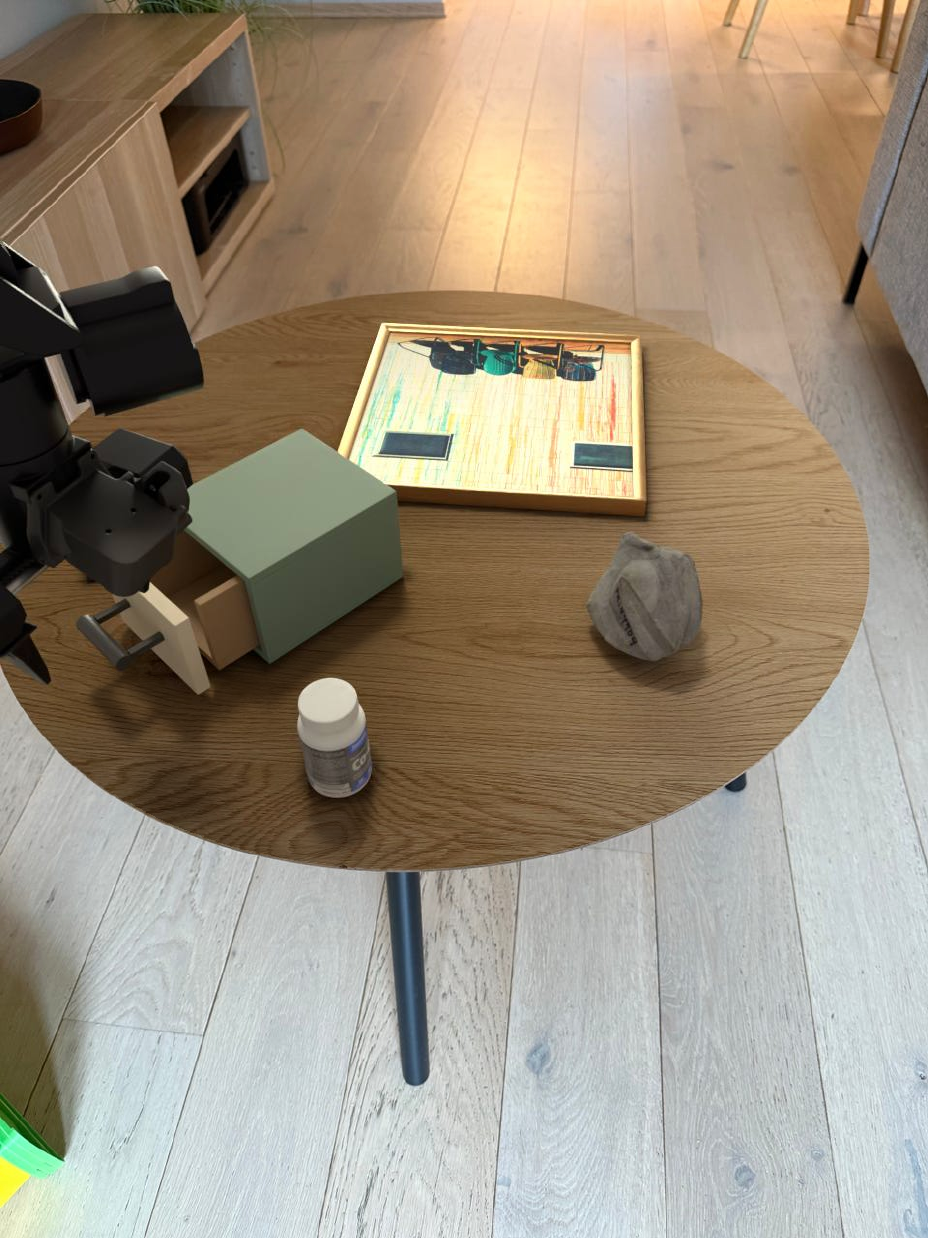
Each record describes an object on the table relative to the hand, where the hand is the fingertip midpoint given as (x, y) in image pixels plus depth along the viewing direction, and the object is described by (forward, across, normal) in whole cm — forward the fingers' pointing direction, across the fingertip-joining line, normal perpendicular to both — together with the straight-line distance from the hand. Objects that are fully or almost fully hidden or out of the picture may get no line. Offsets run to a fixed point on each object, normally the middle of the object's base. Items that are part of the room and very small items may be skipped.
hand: (94, 633), depth 62 cm
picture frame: (+12, +51, -5) cm, 53 cm away
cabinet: (+12, +20, 0) cm, 23 cm away
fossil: (+12, +28, -30) cm, 43 cm away
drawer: (+11, +12, +3) cm, 17 cm away
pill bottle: (+12, +5, -15) cm, 20 cm away
